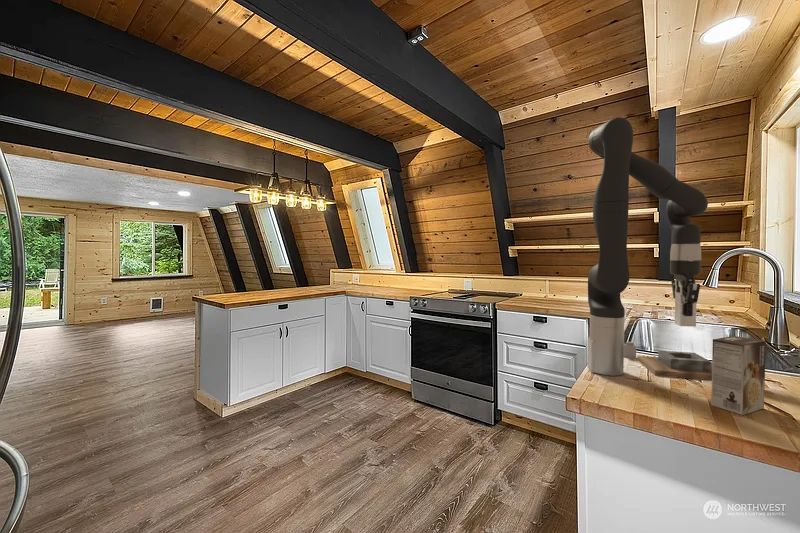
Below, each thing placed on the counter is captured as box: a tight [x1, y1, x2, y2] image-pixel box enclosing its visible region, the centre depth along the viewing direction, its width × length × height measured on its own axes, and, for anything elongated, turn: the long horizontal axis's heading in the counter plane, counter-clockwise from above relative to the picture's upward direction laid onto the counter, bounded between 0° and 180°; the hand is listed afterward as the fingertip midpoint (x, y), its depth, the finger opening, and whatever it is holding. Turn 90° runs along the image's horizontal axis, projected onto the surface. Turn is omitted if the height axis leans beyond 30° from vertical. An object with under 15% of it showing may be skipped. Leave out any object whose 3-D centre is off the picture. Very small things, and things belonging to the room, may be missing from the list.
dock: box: [636, 349, 712, 381], centre depth 114 cm, size 20×16×4 cm
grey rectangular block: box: [624, 341, 637, 359], centre depth 129 cm, size 7×2×8 cm, turn 55°
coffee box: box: [710, 335, 767, 416], centre depth 86 cm, size 9×6×16 cm
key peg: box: [674, 292, 697, 328], centre depth 113 cm, size 4×4×10 cm
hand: (684, 314), depth 113 cm, fingers closed on key peg, 4 cm apart
